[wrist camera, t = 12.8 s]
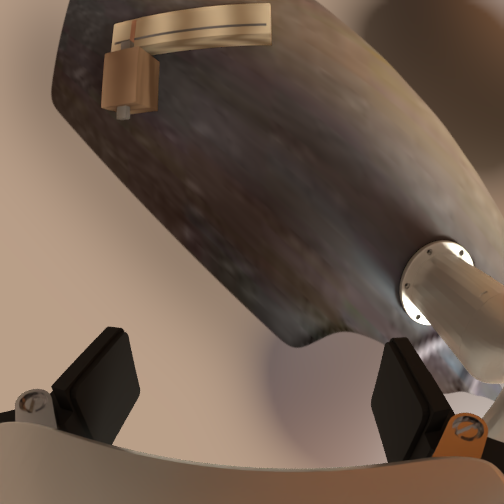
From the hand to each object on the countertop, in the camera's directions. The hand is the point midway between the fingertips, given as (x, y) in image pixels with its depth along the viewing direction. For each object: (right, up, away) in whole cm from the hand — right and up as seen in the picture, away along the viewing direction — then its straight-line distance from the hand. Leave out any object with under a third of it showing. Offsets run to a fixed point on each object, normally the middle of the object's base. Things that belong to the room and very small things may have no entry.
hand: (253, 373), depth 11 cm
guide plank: (-8, +32, +23) cm, 41 cm away
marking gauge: (-14, +26, +26) cm, 39 cm away
